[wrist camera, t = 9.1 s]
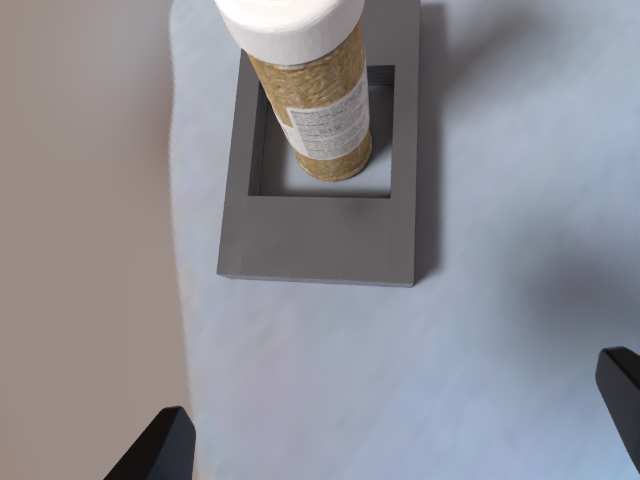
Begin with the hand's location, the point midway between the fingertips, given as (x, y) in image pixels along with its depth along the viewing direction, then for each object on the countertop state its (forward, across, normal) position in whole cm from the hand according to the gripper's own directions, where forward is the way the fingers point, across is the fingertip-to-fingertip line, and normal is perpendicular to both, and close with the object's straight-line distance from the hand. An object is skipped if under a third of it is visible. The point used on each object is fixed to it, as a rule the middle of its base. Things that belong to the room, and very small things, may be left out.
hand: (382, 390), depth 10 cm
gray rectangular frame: (+18, +1, +1) cm, 18 cm away
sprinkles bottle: (+18, +1, +1) cm, 18 cm away
